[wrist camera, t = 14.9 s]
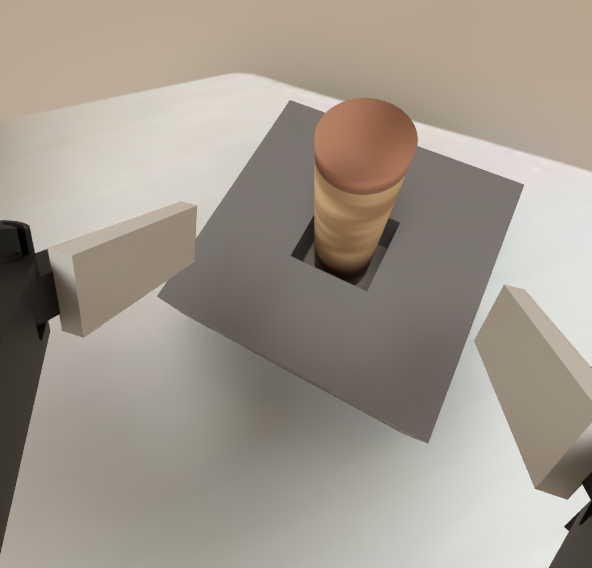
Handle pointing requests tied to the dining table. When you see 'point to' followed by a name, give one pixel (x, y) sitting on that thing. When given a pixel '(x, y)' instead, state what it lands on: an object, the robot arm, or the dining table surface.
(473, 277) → the socket block
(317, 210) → the oak peg
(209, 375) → the dining table surface
